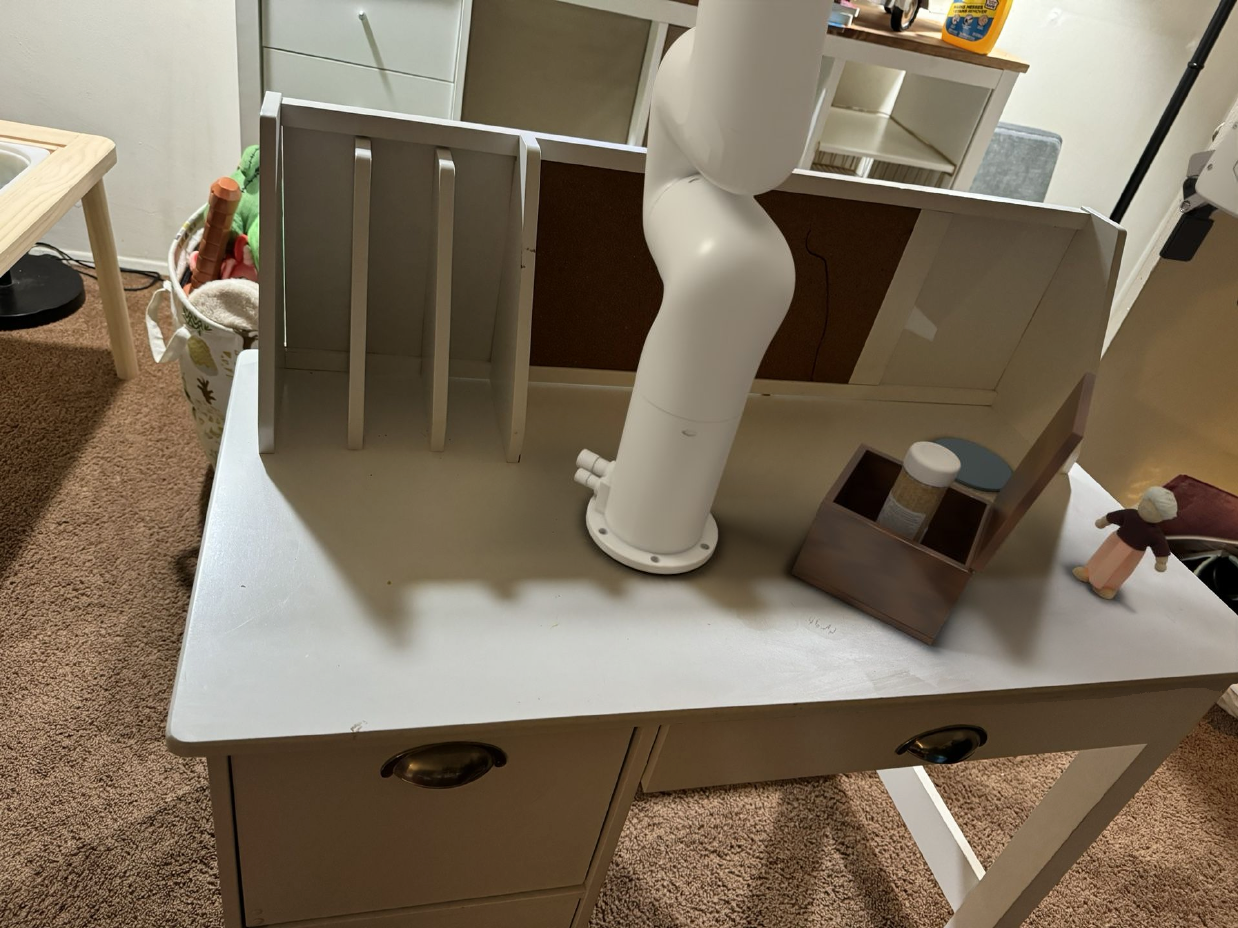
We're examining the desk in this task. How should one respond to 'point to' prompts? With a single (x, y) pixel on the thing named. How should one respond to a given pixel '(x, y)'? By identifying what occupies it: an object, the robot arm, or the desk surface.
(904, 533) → the sprinkles bottle
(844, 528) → the chest
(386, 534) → the desk surface
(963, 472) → the mat
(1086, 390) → the chest lid
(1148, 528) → the grandmother figurine
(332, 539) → the desk surface
